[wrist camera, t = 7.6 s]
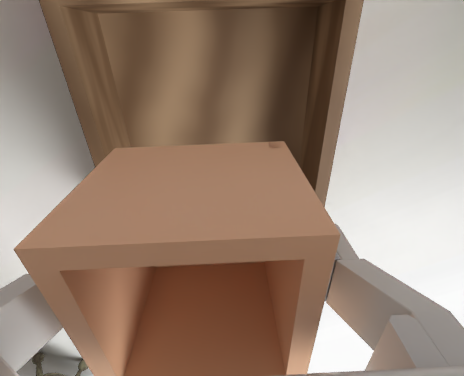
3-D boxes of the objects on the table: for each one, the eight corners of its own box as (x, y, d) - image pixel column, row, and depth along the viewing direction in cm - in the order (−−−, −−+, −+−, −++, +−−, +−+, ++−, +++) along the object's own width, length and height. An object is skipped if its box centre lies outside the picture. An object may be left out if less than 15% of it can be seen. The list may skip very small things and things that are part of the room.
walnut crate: (328, -9, 19) (368, -28, 14) (301, 195, 28) (319, 230, 23) (86, -1, 19) (33, -17, 13) (138, 202, 28) (119, 239, 23)
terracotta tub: (283, 141, 9) (340, 234, 5) (274, 261, 12) (304, 385, 8) (114, 148, 9) (13, 248, 5) (148, 267, 12) (106, 395, 8)
